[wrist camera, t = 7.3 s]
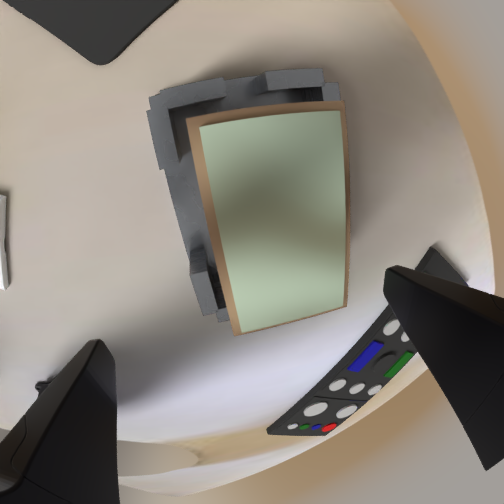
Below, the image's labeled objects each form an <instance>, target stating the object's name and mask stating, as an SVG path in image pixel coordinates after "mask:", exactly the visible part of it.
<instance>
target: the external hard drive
mask: <svg viewBox="0 0 504 504" xmlns="http://www.w3.org/2000/svg"><path fill="white" fill-rule="evenodd" d="M5 219H6V196H4V195H1V194H0V288H1V289H3V290H6V289H7V288H8V287H9V282H8V273H7V260H6V252H5V249H4V238H5Z"/></svg>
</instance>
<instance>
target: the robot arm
mask: <svg viewBox="0 0 504 504" xmlns="http://www.w3.org/2000/svg"><path fill="white" fill-rule="evenodd" d="M383 292H384V296H385V298H386V300H387V301H388V303H389V305H390V307H391V308H392V310H393V312H394V314H395V316H396V317H397V319H398V321H399V323H400V325H401V326H402V328H403V330H404V332H405V333H406V335H407V336H408V338H409V339H410V341H411V342H412V344H413V345H414V347H415V348H416V350H417V351H418V353H419V354H420V356H421V357H422V359H423V360H424V362H425V363H426V365H427V367H428V368H429V370H430V371H431V373H432V374H433V376H434V378H435V379H436V381H437V383H438V384H439V386H440V387H441V389H442V391H443V392H444V394H445V396H446V397H447V399H448V401H449V403H450V404H451V406H452V408H453V409H454V411H455V413H456V415H457V417H458V418H459V420H460V422H461V423H462V425H463V428H464V430H465V431H466V433H467V435H468V437H469V439H470V441H471V443H472V445H473V447H474V448H475V450H476V453H477V455H478V457H479V459H480V461H481V463H482V465H483V467H484V469H485V470H486V471H487V470H489V469H490V468H491V467H493V466H494V465H495V464H497V463H498V462H500V461H501V460H502V459H503V458H504V298H501V297H498V296H495V295H492V294H488V293H486V292H483V291H480V290H477V289H474V288H470V287H467V286H464V285H461V284H458V283H455V282H452V281H448V280H445V279H442V278H439V277H436V276H432V275H429V274H426V273H422V272H419V271H416V270H413V269H409V268H406V267H402V266H399V265H395V266H392V267H389V268H387V269H386V271H385V278H384V287H383ZM35 389H36V390H37V391H38V392H39V394H38V398H37V400H36V401H35V402H34V403H33V404H32V406H31V407H30V408H29V409H28V410H27V412H26V413H25V415H23V417H22V418H21V419H20V420H19V422H18V423H17V424H16V425H15V426H14V428H13V429H12V430H11V431H10V433H9V434H8V435H7V436H6V437H5V438H4V439H3V440H2V441H1V443H0V504H120V500H119V487H118V474H117V395H116V375H115V361H114V358H113V356H112V354H111V353H110V351H109V350H108V348H107V347H106V345H105V343H104V342H103V341H102V340H101V339H95V340H90V341H88V342H87V343H86V344H85V345H84V346H83V348H82V349H81V350H80V351H79V352H78V353H77V354H76V355H75V356H74V357H73V358H72V360H71V361H70V362H69V363H68V364H67V365H66V366H65V367H64V368H63V370H62V371H61V372H60V373H59V374H58V375H57V376H56V378H55V379H54V380H53V381H52V382H51V383H47V384H36V385H35Z"/></svg>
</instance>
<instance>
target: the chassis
mask: <svg viewBox="0 0 504 504" xmlns="http://www.w3.org/2000/svg"><path fill="white" fill-rule="evenodd" d="M315 101H341V99H340V92H339V85H338V82H335V83H324V76H323V70H322V68H316V69H290V70H276V71H265V72H264V73H262V74H260V75H259V76H250V77H243V78H236V79H229V80H224V77H220V78H215V79H209V80H204V81H199V82H194V83H189V84H185V85H181V86H176V87H172V88H168V89H164V90H161V91H160V94H159V95H155V96H152V97H149V102H150V107H151V110H148V111H146V112H147V117H148V121H149V126H150V131H151V135H152V140H153V144H154V148H155V153H156V157H157V161H158V165H159V169H160V170H161V169H164V170H165V174H166V178H167V182H168V186H169V190H170V194H171V198H172V201H173V205H174V209H175V212H176V216H177V220H178V223H179V227H180V230H181V234H182V237H183V241H184V244H185V248H186V251H187V254H188V258H189V261H190V278H191V281H192V284H193V287H194V290H195V293H196V296H197V299H198V302H199V305H200V308H201V311H202V313H203V316H204V315H208V314H213V313H216V315H217V318H218V321H219V322H222V321H227V320H230V318H229V314H228V310H227V306H226V302H225V298H224V294H223V290H222V286H221V282H220V278H219V274H218V270H217V265H216V261H215V257H214V253H213V248H212V244H211V240H210V235H209V231H208V226H207V222H206V217H205V213H204V208H203V203H202V199H201V194H200V189H199V184H198V179H197V174H196V169H195V164H194V159H193V154H192V149H191V144H190V139H189V133H188V128H187V122H186V118H191V117H196V116H201V115H206V114H211V113H217V112H223V111H229V110H235V109H242V108H249V107H257V106H265V105H275V104H285V103H298V102H315Z"/></svg>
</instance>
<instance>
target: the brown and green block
mask: <svg viewBox="0 0 504 504" xmlns="http://www.w3.org/2000/svg"><path fill="white" fill-rule="evenodd" d="M186 122H187V128H188V133H189V139H190V144H191V149H192V154H193V159H194V164H195V169H196V174H197V179H198V184H199V189H200V194H201V199H202V203H203V208H204V213H205V217H206V222H207V226H208V231H209V235H210V240H211V244H212V248H213V253H214V257H215V261H216V265H217V270H218V274H219V278H220V282H221V286H222V290H223V294H224V298H225V302H226V306H227V310H228V314H229V318H230V322H231V326H232V330H233V334H234V336H238V335H242V334H247V333H251V332H255V331H260V330H264V329H268V328H272V327H276V326H280V325H284V324H287V323H291V322H295V321H299V320H302V319H306V318H310V317H313V316H317V315H320V314H324V313H327V312H330V311H334V310H337V309H340V308H344V307H347V298H348V283H349V262H350V174H349V154H348V138H347V126H346V115H345V105H344V101H315V102H298V103H285V104H275V105H265V106H257V107H249V108H242V109H235V110H229V111H223V112H217V113H211V114H206V115H201V116H196V117H191V118H186Z"/></svg>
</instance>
